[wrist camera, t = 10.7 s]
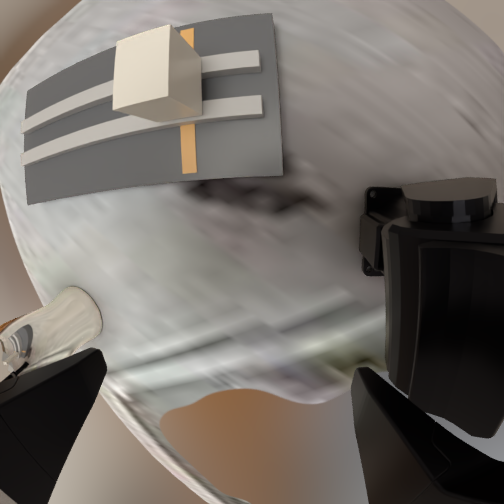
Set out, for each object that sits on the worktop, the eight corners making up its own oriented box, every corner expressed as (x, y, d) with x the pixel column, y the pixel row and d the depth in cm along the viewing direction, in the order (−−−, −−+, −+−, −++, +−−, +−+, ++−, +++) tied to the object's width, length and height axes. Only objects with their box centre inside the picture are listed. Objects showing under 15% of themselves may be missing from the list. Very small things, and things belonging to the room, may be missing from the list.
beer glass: (84, 346, 27) (5, 427, 12) (50, 296, 25) (-42, 361, 11) (117, 329, 25) (24, 429, 11) (79, 271, 24) (-37, 344, 9)
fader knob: (205, 63, 15) (170, 24, 9) (207, 118, 16) (168, 95, 10) (164, 71, 15) (116, 41, 10) (164, 124, 17) (112, 109, 11)
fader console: (273, 25, 16) (270, 4, 13) (283, 175, 19) (282, 176, 16) (40, 93, 19) (19, 89, 16) (40, 202, 22) (19, 207, 19)
